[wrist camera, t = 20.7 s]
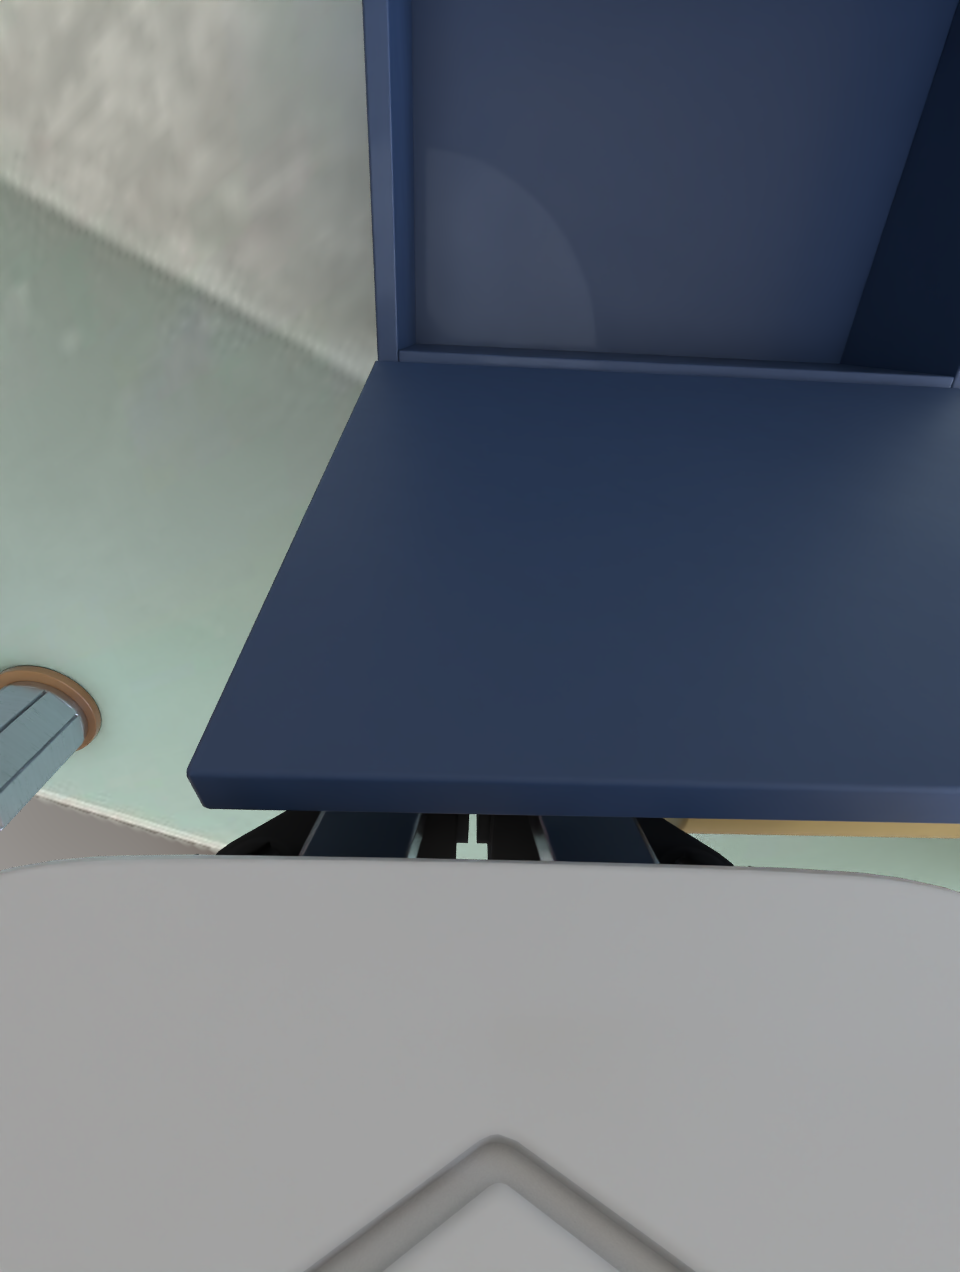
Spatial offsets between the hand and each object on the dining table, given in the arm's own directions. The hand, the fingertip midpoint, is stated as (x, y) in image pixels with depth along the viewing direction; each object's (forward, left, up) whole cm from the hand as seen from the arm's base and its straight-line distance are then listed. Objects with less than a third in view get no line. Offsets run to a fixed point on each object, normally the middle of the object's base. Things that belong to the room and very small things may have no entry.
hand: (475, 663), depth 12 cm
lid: (0, +7, 0) cm, 7 cm away
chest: (-6, +12, -14) cm, 19 cm away
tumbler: (-3, -26, -14) cm, 30 cm away
